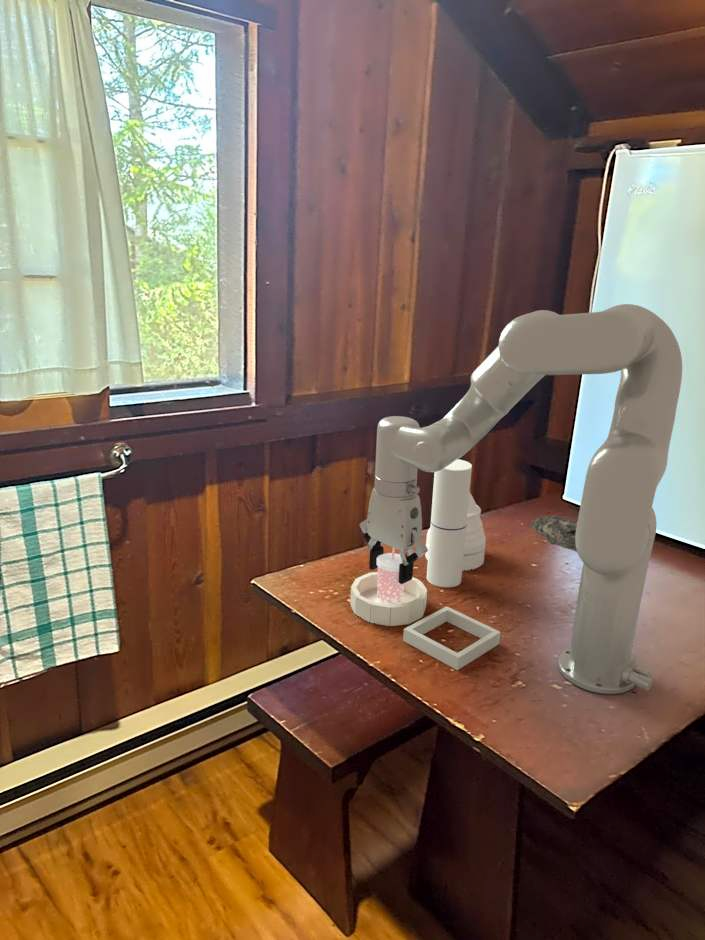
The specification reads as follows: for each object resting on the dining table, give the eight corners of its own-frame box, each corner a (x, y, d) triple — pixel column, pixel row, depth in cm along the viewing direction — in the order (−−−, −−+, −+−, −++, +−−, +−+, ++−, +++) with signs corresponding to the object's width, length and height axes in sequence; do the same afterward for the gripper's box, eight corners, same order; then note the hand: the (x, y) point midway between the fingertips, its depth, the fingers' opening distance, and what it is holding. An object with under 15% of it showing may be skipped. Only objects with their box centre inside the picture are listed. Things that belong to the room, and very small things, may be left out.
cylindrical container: (421, 581, 154) (429, 466, 146) (434, 568, 160) (443, 456, 152) (454, 590, 151) (464, 472, 142) (466, 576, 157) (477, 462, 148)
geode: (598, 559, 168) (614, 536, 180) (600, 543, 167) (616, 521, 179) (516, 539, 177) (536, 519, 189) (518, 524, 176) (538, 504, 188)
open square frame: (499, 643, 133) (500, 632, 132) (457, 670, 124) (458, 657, 124) (445, 617, 140) (446, 606, 140) (403, 640, 132) (403, 628, 132)
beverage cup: (403, 613, 140) (409, 544, 135) (370, 608, 141) (375, 540, 136) (407, 597, 146) (413, 531, 141) (375, 592, 147) (380, 527, 142)
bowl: (439, 607, 144) (441, 590, 143) (390, 633, 134) (391, 615, 133) (386, 581, 153) (387, 565, 152) (336, 604, 144) (336, 586, 142)
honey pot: (413, 554, 166) (418, 477, 160) (452, 540, 174) (459, 466, 168) (456, 576, 157) (463, 495, 151) (496, 560, 165) (504, 483, 159)
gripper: (446, 493, 132) (439, 584, 138) (374, 468, 144) (370, 553, 150) (418, 504, 127) (412, 597, 133) (346, 477, 139) (343, 564, 145)
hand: (390, 573), depth 141 cm, fingers open, 6 cm apart
